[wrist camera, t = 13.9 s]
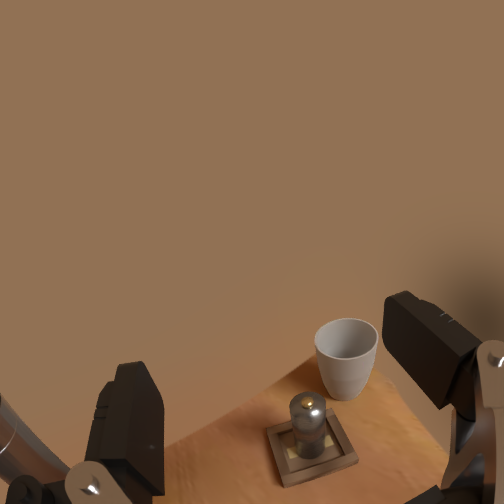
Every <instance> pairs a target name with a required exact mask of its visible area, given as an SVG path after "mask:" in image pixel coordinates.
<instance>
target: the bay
mask: <svg viewBox="0 0 504 504" xmlns="http://www.w3.org/2000/svg"><path fill="white" fill-rule="evenodd" d="M266 431H267V435H268V438H269V441H270V444H271V448H272V451H273V454H274V457H275V460H276V464H277V467H278V470H279V473H280V476H281V479H282V482H283V485H284V488H287V487H290V486H294V485H297V484H301V483H304V482H307V481H310V480H314V479H317V478H320V477H323V476H325V475H328V474H331V473H334V472H336V471H339V470H342V469H344V468H347V467H349V466H352V465H354V464H357V463H358V461H359V458H358V456H357V454H356V452H355V450H354V448H353V447H352V445H351V443H350V441H349V439H348V437H347V435H346V434H345V432H344V430H343V428H342V426H341V424H340V422H339V421H338V419H337V417H336V415H335V413H334V411H333V409H332V408H330V409H327V410H326V430H325V450H324V452H323V453H322V455H320V456H319V457H317V458H315V459H304V458H301V457H300V456H299V455H298V454H297V452H296V448H295V441H294V434H293V428H292V421H290V422H286V423H283V424H279V425H276V426H272V427H268V428H266Z"/></svg>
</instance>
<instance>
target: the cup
mask: <svg viewBox="0 0 504 504" xmlns="http://www.w3.org/2000/svg"><path fill="white" fill-rule="evenodd" d="M377 344H378V333H377V331H376V329H375V328H374V327H373V326H372V325H371V324H369V323H368V322H365V321H363V320H360V319H354V318H343V319H337V320H334V321H331V322H329V323H327V324H325V325H323V326H322V327H321V328H320V329H319V330H318V331H317V333H316V335H315V347H316V354H317V362H318V367H319V370H320V374H321V377H322V381H323V384H324V386H325V387H326V389H327V391H328V393H329V395H330V396H331V397H332V398H334V399H336V400H339V401H348V400H352V399H354V398H356V397H357V396H358V395H359V394H360V392H361V391H362V389H363V388H364V386H365V385H366V383H367V381H368V378H369V375H370V373H371V370H372V367H373V364H374V360H375V354H376V349H377Z"/></svg>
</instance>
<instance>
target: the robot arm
mask: <svg viewBox="0 0 504 504" xmlns="http://www.w3.org/2000/svg"><path fill="white" fill-rule="evenodd" d="M382 338H383V343H384V345H385V347H386V349H387V350H388V351H389V353H390V354H391V355H392V356H393V357H394V358H395V359H396V360H397V361H398V363H399V364H400V365H401V366H402V367H403V368H404V369H405V371H406V372H407V373H408V374H409V375H410V376H411V378H412V379H413V380H414V381H415V382H416V383H417V384H418V386H419V387H420V388H421V389H422V390H423V392H424V393H425V394H426V395H427V396H428V397H429V399H430V400H431V401H432V402H433V403H434V405H436V407H437V408H438V409H439V410H440V409H442V408H443V407H445V406H446V405H448V404H450V403H451V404H452V405H453V406H454V408H453V410H452V420H451V444H450V457H449V462H448V465H447V468H446V470H445V473H444V476H443V479H442V483H441V488H440V489H439V488H438V486H437V485H435V486H433V487H432V488H430V489H429V490H427V491H425V492H424V493H422V494H420V495H419V496H417V497H415V498H413V499H412V500H410V501H408V502H406V503H404V504H504V342H501V341H497V340H490V341H486V342H484V343H483V342H481V341H480V340H479V339H478V338H476V337H475V336H474V335H473V334H472V333H470V332H469V331H468V330H466V329H465V328H464V327H463V326H462V325H460V324H459V323H458V322H457V321H455V320H454V321H453V318H451V317H450V316H449V315H448V314H445V312H444V311H442V310H441V309H440V308H439V307H437V306H436V305H434V304H432V303H429V302H427V301H424V300H419V299H418V298H417V297H415V296H414V295H413V294H411V293H410V292H408V291H403V292H400V293H397V294H395V295H392V296H389V297H387V298H386V299H385V303H384V316H383V327H382ZM96 408H97V409H96V410H95V414H94V420H93V422H92V426H91V431H90V436H89V441H88V446H87V450H86V455H85V460H84V462H81V463H79V464H77V465H75V466H74V467H73V468H72V469H70V468H69V467H67V466H66V465H65V464H64V463H63V462H62V461H61V460H60V459H59V458H58V457H57V456H56V455H55V454H54V453H53V452H52V451H51V450H50V449H48V447H47V446H45V444H43V442H42V441H41V440H40V439H39V438H38V437H37V436H36V435H35V434H34V433H33V432H32V431H31V430H30V428H28V426H27V425H26V424H25V423H24V422H23V421H22V419H21V418H20V417H19V416H18V415H17V414H16V412H15V411H14V410H13V409H12V408H11V406H10V405H9V404H8V402H7V401H6V400H5V399H4V397H3V396H2V395H1V393H0V478H1V479H2V480H4V481H5V482H6V483H7V484H8V485H10V486H9V488H8V492H7V498H6V503H5V504H152V496H165V488H164V404H163V400H162V397H161V395H160V392H159V391H158V389H157V387H156V385H155V383H154V381H153V379H152V378H151V376H150V374H149V372H148V370H147V368H146V366H145V364H144V363H143V362H142V361H138V362H131V363H125V364H119V366H118V367H117V371H116V375H115V379H114V381H111V382H108V383H107V384H106V385H105V387H104V388H103V390H102V391H101V392H100V394H99V397H98V401H97V405H96Z"/></svg>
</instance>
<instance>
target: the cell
mask: <svg viewBox="0 0 504 504" xmlns="http://www.w3.org/2000/svg"><path fill="white" fill-rule="evenodd" d="M289 407H290V414H291V421H292V428H293V434H294V441H295V448H296V452H297V454H298V455H299V456H300V457H301V458H304V459H315V458H317V457H319V456H320V455H322V453H323V452H324V450H325V430H326V402H325V399H324V398H323V396H321V395H320V394H318V393H316V392H303V393H300V394H298V395H296V396H295V397H294V398H293V399H292V400H291V402H290V406H289Z"/></svg>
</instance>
